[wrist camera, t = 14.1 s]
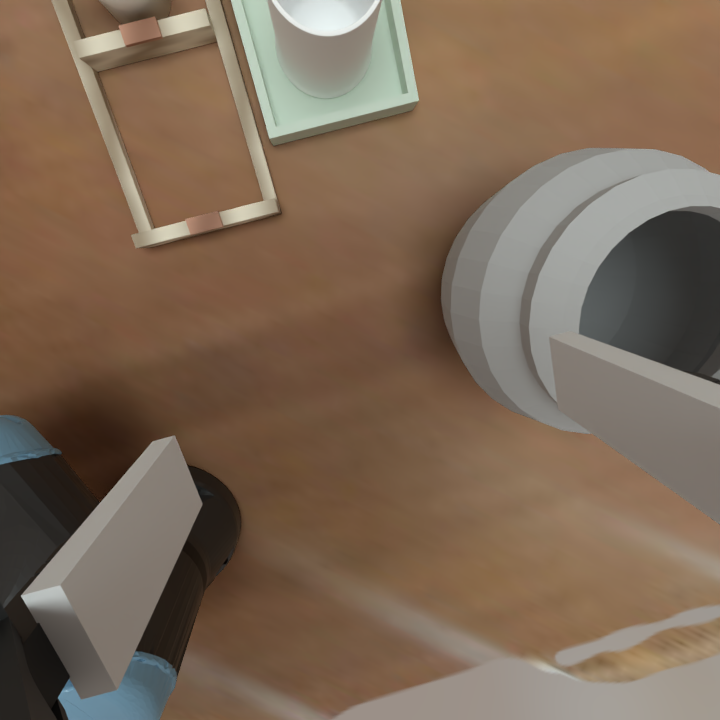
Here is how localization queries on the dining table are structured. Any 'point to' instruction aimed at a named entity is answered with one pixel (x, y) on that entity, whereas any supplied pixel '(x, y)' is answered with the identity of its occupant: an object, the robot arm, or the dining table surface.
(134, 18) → the white capsule
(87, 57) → the caddy
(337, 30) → the mug
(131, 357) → the dining table surface
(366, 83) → the tray
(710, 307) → the vase
